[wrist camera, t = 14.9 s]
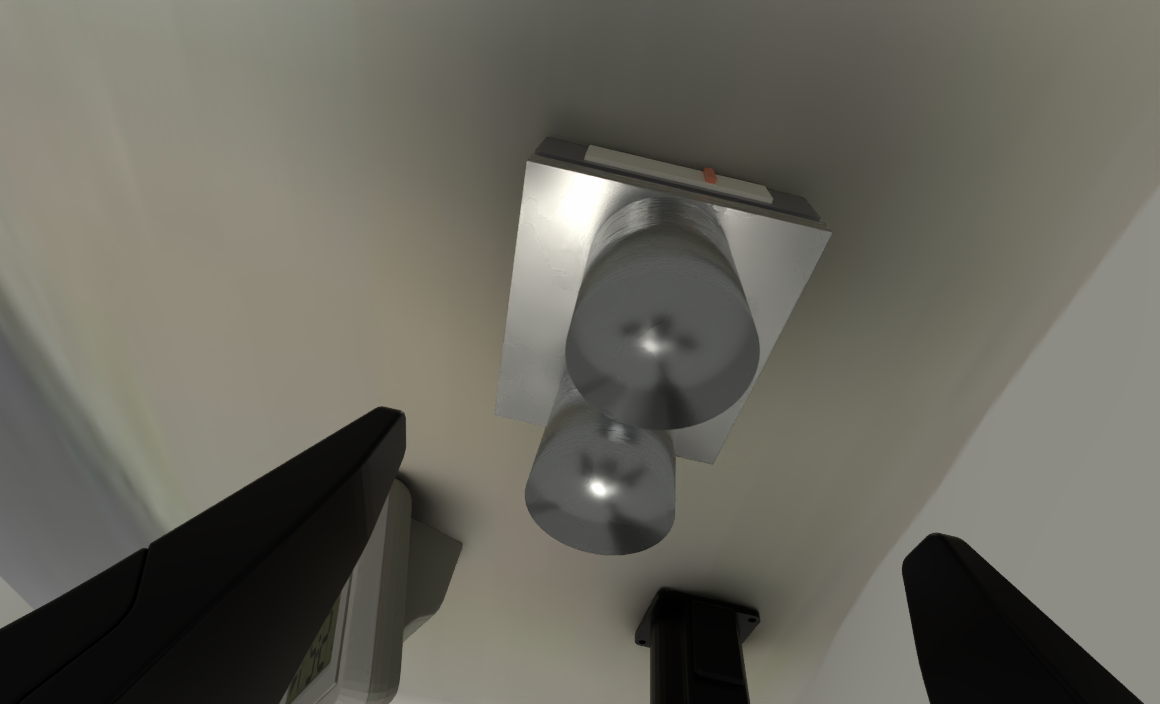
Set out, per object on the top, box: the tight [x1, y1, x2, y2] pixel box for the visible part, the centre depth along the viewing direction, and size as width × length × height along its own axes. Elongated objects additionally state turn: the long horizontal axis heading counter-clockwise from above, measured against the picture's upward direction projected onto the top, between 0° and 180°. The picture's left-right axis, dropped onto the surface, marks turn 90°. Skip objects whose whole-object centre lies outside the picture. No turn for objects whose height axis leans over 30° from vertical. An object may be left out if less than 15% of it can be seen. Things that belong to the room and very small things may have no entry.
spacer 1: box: [565, 197, 760, 430], centre depth 13 cm, size 4×4×5 cm
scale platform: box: [495, 154, 832, 465], centre depth 17 cm, size 10×9×1 cm
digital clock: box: [280, 479, 462, 704], centre depth 28 cm, size 16×9×11 cm, turn 134°
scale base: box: [535, 137, 820, 221], centre depth 19 cm, size 10×9×2 cm
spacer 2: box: [525, 370, 676, 555], centre depth 17 cm, size 4×4×5 cm
